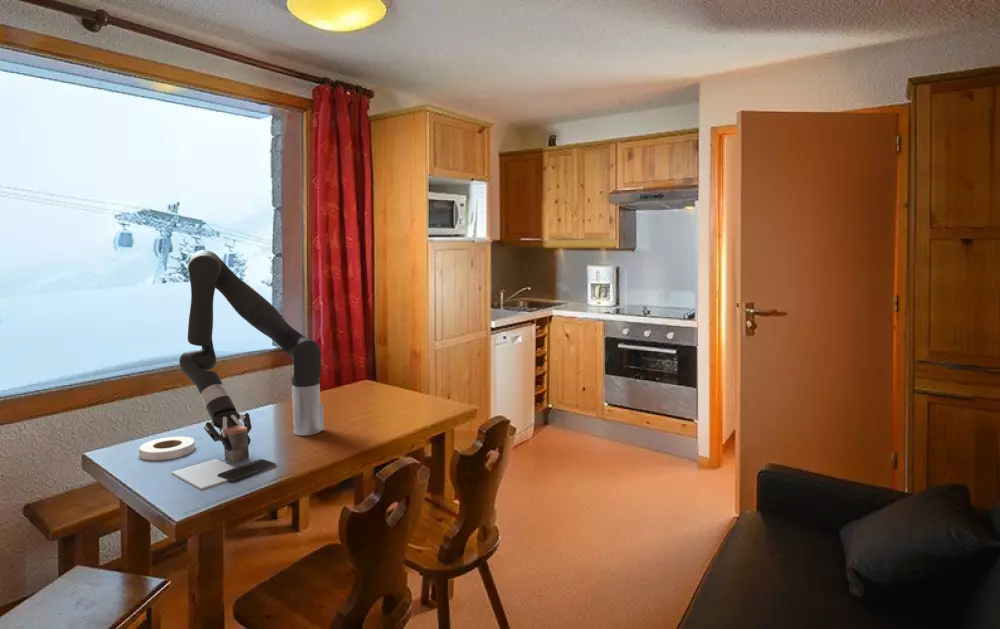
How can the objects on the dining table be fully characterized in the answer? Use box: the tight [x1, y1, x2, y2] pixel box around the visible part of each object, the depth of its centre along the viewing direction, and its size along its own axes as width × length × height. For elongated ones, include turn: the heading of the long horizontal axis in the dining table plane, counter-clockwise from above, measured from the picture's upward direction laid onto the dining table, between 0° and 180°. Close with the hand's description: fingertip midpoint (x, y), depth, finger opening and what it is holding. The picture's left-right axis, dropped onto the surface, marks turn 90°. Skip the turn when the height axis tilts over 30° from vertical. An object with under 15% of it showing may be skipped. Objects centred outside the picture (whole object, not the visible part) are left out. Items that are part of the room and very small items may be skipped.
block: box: [223, 425, 250, 465], centre depth 185 cm, size 5×5×10 cm
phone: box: [217, 458, 277, 484], centre depth 176 cm, size 8×1×15 cm
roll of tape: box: [138, 436, 196, 461], centre depth 192 cm, size 16×15×3 cm
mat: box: [171, 458, 235, 491], centre depth 174 cm, size 13×18×1 cm
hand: (239, 447), depth 184 cm, fingers closed on block, 5 cm apart
